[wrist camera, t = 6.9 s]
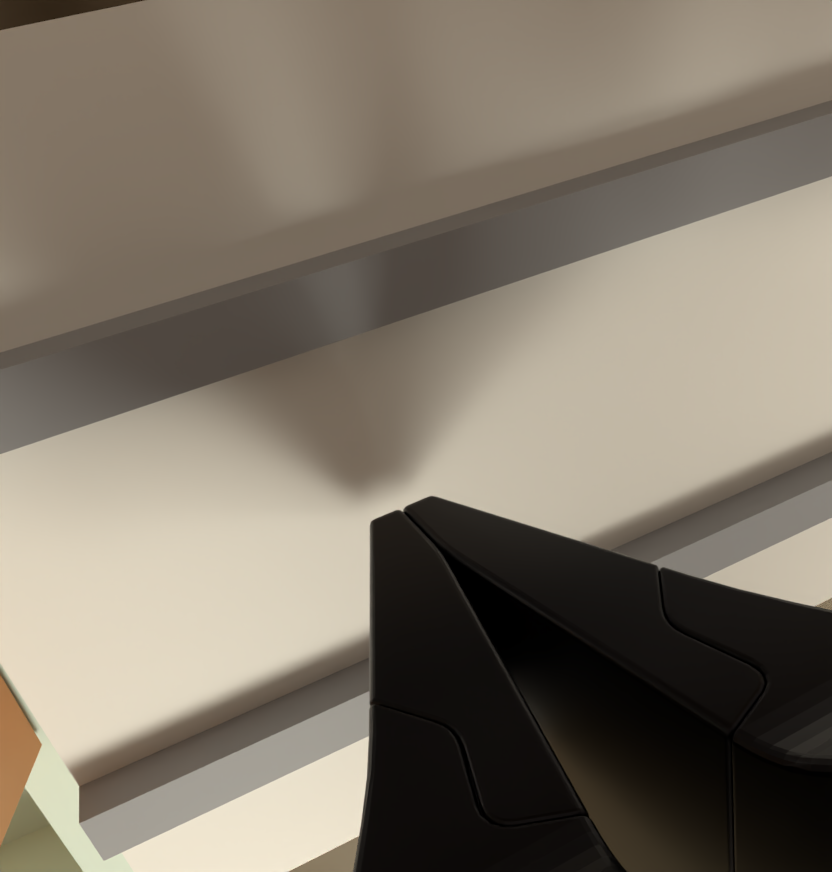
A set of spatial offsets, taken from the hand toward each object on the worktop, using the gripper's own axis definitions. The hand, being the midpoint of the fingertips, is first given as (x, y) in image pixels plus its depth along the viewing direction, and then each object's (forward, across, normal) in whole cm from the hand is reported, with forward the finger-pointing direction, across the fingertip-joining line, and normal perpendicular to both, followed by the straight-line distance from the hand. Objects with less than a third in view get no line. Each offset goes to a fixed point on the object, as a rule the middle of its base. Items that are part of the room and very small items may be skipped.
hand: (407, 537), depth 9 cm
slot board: (+4, -5, 0) cm, 6 cm away
